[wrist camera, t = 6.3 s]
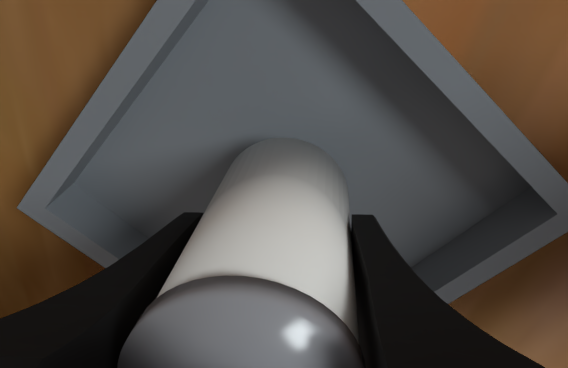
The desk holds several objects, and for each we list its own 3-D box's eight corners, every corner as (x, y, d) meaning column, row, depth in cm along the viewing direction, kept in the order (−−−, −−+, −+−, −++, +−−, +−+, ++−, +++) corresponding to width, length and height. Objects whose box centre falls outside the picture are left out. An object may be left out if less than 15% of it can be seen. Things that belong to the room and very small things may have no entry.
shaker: (378, 202, 15) (423, 418, 7) (283, 271, 16) (244, 501, 9) (287, 106, 13) (234, 249, 6) (195, 190, 15) (70, 380, 8)
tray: (559, 177, 15) (596, 214, 13) (298, 351, 21) (294, 396, 19) (274, -135, 12) (261, -155, 10) (55, 176, 18) (16, 207, 16)
